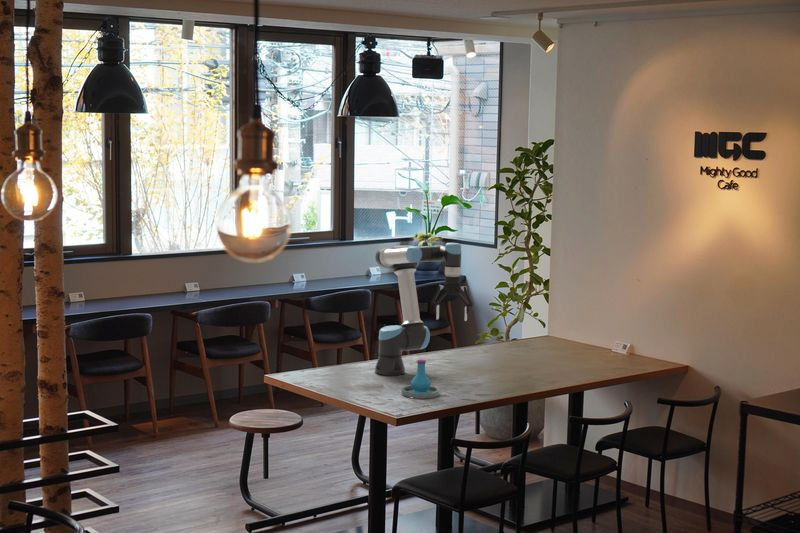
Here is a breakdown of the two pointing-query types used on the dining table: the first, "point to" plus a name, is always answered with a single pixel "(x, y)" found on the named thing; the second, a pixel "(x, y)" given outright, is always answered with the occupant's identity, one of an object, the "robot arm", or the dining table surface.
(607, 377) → the dining table surface
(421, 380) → the perfume bottle
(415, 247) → the robot arm
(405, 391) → the round dish
